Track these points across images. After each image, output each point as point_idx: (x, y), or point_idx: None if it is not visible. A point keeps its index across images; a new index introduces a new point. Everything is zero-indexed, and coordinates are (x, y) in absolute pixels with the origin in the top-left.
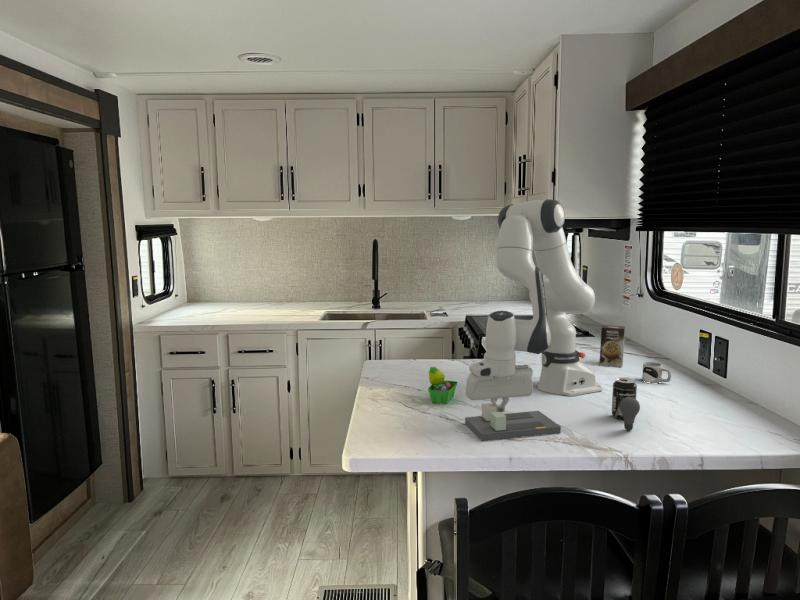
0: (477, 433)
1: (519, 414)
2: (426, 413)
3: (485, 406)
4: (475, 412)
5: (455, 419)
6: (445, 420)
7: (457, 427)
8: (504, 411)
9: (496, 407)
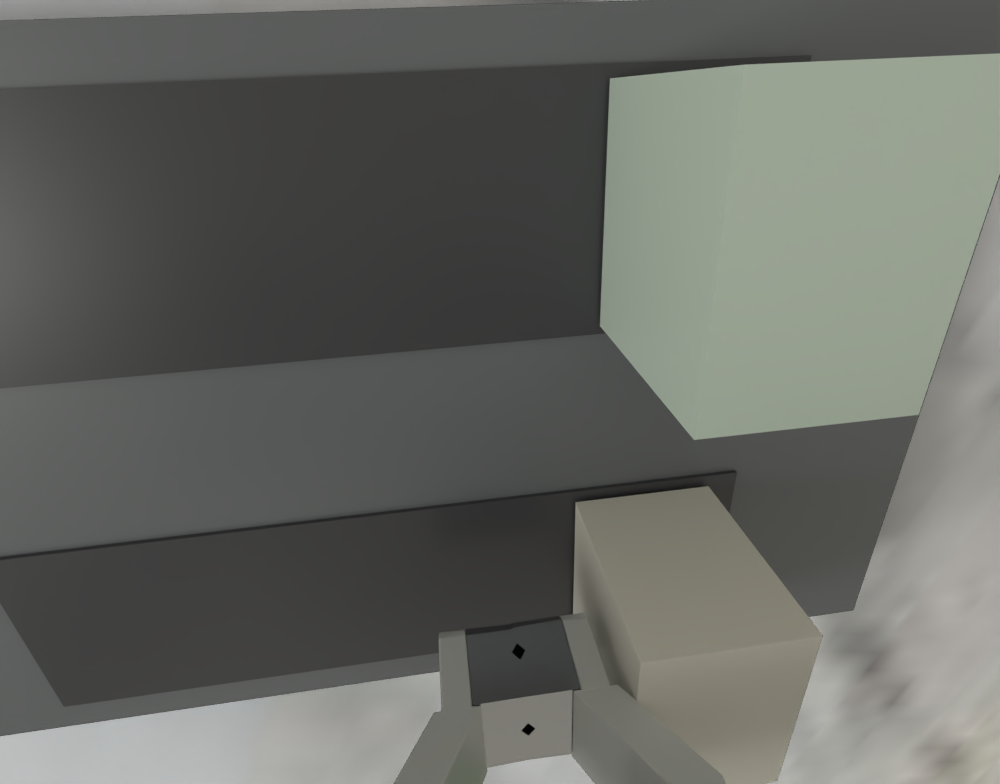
0: None
1: (188, 652)
2: (946, 745)
3: (798, 691)
4: None
5: (824, 647)
6: (912, 632)
7: (924, 485)
8: (441, 633)
9: (602, 679)
